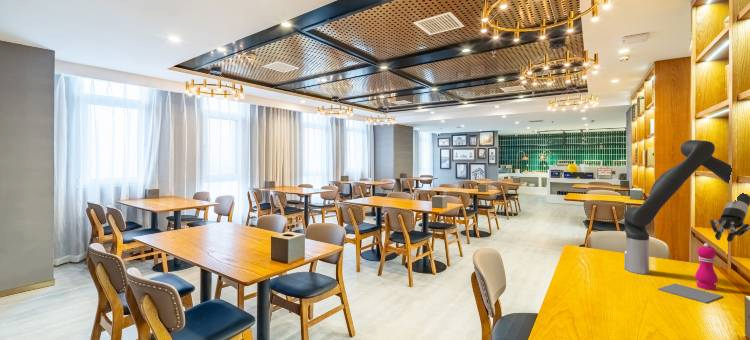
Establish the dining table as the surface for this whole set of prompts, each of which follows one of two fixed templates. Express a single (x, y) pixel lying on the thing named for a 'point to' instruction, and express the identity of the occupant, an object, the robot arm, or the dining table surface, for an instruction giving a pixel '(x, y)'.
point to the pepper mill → (706, 268)
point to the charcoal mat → (690, 293)
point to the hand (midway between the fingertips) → (723, 239)
